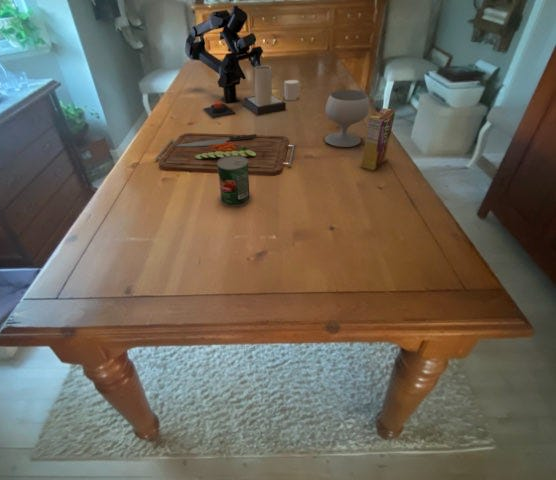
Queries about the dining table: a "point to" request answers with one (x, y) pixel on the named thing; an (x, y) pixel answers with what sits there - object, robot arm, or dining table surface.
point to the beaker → (263, 84)
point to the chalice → (346, 115)
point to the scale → (264, 106)
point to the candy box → (377, 138)
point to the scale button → (218, 104)
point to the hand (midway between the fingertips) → (253, 76)
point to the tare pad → (218, 111)
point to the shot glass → (291, 89)
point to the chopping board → (226, 152)
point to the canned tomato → (234, 180)
